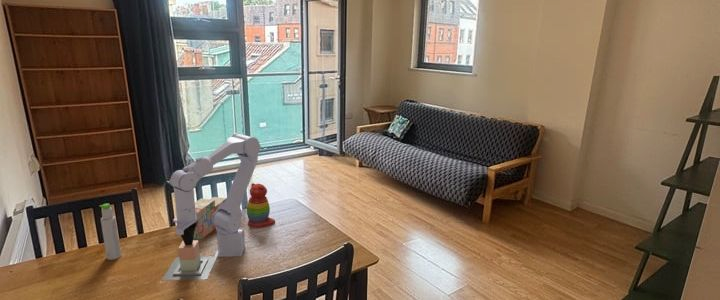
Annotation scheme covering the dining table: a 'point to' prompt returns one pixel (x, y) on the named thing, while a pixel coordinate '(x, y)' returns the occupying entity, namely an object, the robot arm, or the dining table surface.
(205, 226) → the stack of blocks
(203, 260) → the baseplate
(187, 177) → the robot arm
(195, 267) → the sage brick
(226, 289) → the dining table surface
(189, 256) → the peach block
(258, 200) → the stacking bear
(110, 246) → the bottle
